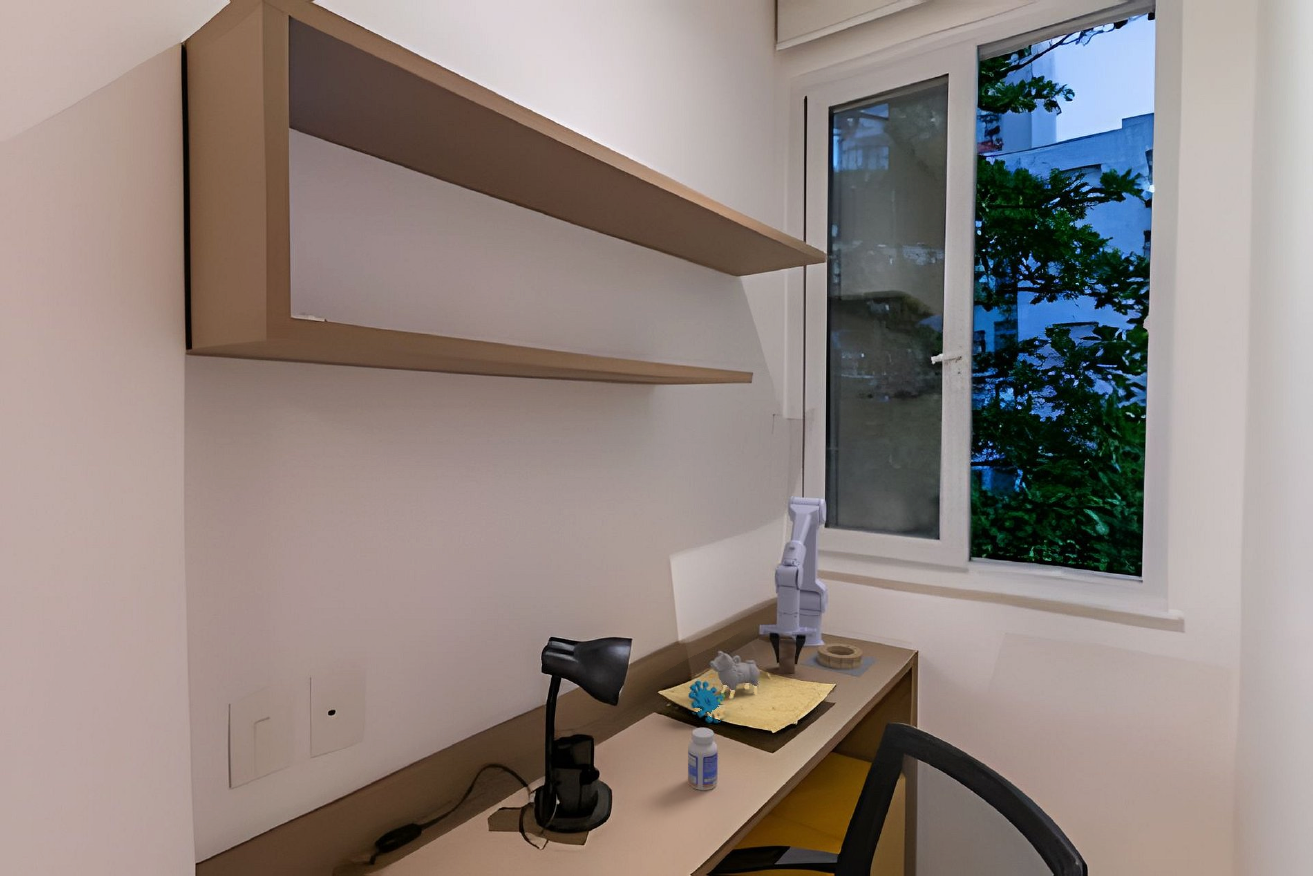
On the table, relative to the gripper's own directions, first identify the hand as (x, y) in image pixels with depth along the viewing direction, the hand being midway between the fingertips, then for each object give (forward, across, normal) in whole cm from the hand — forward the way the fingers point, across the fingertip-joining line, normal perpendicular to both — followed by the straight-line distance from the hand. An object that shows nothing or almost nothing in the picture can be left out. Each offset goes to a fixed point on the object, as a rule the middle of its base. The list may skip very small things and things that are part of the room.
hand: (787, 662), depth 192 cm
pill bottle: (+3, -14, -61) cm, 62 cm away
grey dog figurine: (+3, -12, -18) cm, 21 cm away
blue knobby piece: (+3, -16, -32) cm, 36 cm away
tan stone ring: (+2, +14, +10) cm, 17 cm away
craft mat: (+2, +14, +10) cm, 17 cm away
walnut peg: (+2, 0, 0) cm, 2 cm away
